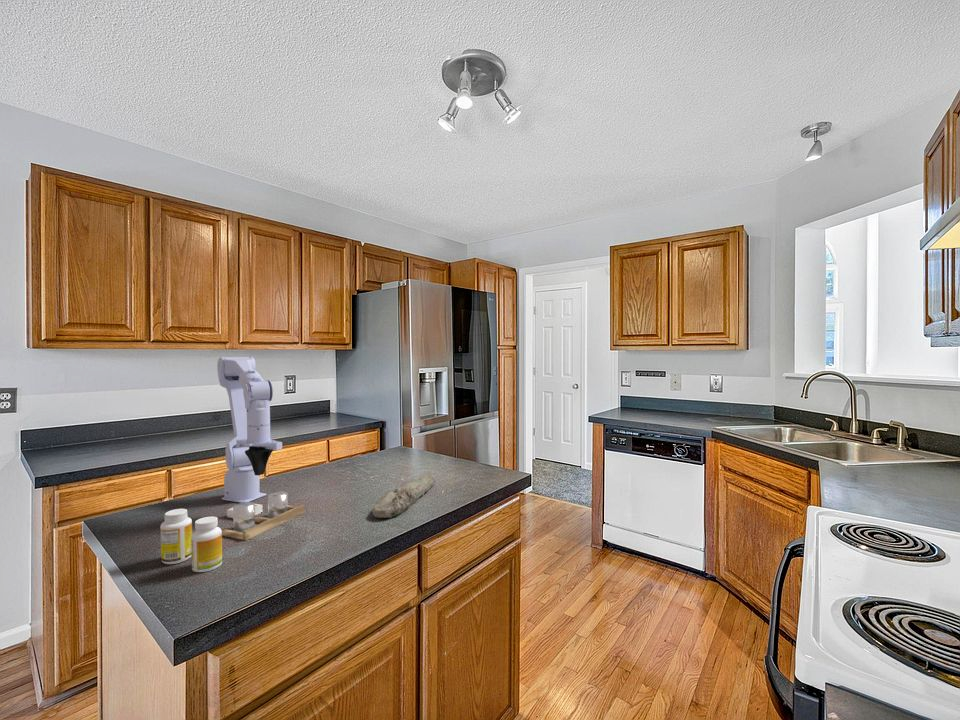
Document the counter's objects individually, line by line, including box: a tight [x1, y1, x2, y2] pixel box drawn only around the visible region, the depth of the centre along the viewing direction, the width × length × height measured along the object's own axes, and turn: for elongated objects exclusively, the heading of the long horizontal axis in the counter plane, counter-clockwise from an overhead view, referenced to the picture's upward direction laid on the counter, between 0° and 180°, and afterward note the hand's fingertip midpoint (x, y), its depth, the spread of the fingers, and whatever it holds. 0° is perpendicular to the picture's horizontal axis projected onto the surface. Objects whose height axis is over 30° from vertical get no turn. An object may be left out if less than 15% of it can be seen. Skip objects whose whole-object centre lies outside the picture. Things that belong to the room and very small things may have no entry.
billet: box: [232, 501, 256, 532], centre depth 110 cm, size 5×5×6 cm
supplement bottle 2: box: [190, 516, 223, 573], centre depth 91 cm, size 5×5×10 cm
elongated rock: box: [371, 474, 436, 519], centre depth 132 cm, size 35×5×10 cm
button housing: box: [226, 503, 264, 519], centre depth 119 cm, size 6×6×2 cm
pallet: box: [221, 504, 306, 541], centre depth 113 cm, size 8×19×2 cm, turn 159°
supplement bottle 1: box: [159, 508, 193, 565], centre depth 94 cm, size 6×6×10 cm
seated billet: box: [267, 490, 289, 518], centre depth 118 cm, size 5×5×6 cm
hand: (259, 474), depth 121 cm, fingers closed
